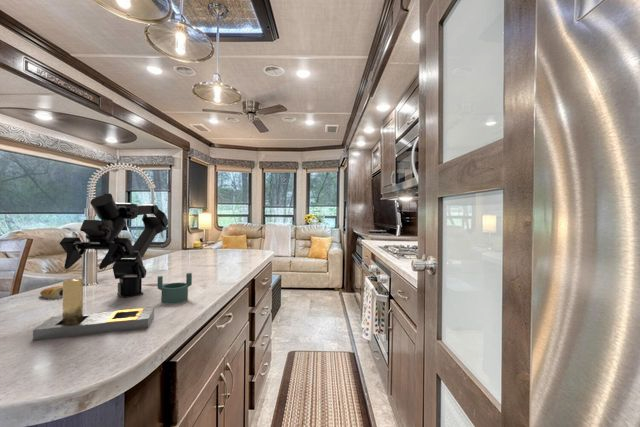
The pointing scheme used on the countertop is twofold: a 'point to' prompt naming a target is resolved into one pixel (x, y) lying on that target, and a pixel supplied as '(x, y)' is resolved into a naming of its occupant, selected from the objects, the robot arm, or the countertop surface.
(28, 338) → the countertop surface
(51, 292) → the pastry
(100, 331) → the hole rail
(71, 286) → the brass peg
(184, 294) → the bracket
